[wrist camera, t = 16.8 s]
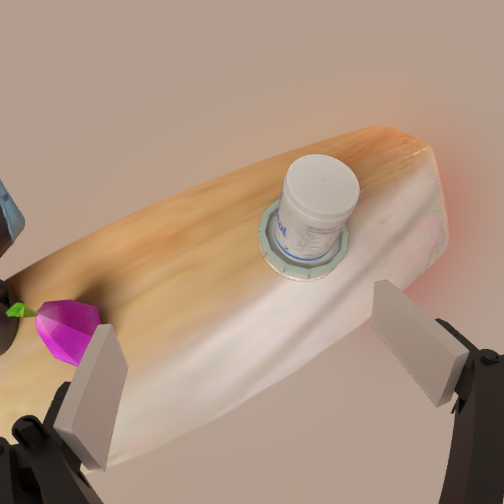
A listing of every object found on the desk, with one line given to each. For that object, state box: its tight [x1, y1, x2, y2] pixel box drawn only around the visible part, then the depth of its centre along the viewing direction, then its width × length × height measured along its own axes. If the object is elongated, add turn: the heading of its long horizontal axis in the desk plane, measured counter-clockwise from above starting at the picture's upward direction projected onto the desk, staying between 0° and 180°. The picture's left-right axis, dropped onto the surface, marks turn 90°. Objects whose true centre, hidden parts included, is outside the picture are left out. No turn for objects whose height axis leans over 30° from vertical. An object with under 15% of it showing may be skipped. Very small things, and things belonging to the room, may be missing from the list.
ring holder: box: [258, 199, 349, 282], centre depth 49 cm, size 14×14×3 cm
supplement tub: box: [274, 154, 360, 263], centre depth 42 cm, size 10×10×15 cm
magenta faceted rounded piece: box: [6, 299, 101, 367], centre depth 35 cm, size 11×11×15 cm
